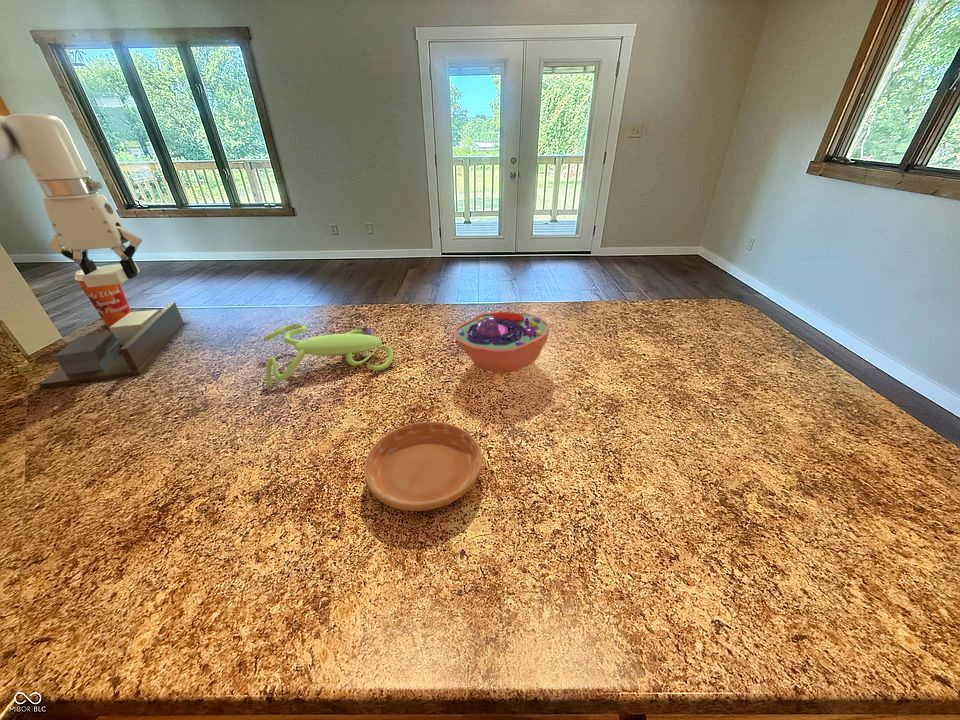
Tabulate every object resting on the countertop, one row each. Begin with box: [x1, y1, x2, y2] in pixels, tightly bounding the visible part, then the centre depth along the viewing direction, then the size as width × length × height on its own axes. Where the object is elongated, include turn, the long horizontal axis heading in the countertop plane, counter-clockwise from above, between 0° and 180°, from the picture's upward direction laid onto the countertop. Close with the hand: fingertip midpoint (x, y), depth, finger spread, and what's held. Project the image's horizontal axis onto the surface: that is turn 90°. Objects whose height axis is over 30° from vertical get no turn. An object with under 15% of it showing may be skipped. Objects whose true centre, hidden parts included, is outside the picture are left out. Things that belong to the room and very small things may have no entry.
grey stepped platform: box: [38, 301, 185, 389], centre depth 84 cm, size 16×26×6 cm, turn 18°
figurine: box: [263, 323, 394, 387], centre depth 81 cm, size 18×27×6 cm
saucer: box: [363, 421, 483, 512], centre depth 53 cm, size 16×16×3 cm
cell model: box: [453, 310, 550, 374], centre depth 77 cm, size 17×20×11 cm
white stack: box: [108, 309, 161, 345], centre depth 89 cm, size 6×9×4 cm
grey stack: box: [54, 332, 122, 375], centre depth 78 cm, size 6×9×4 cm
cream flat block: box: [82, 261, 141, 287], centre depth 83 cm, size 6×9×2 cm, turn 18°
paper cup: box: [74, 266, 132, 328], centre depth 95 cm, size 8×8×14 cm
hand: (114, 277), depth 83 cm, fingers closed on cream flat block, 6 cm apart
